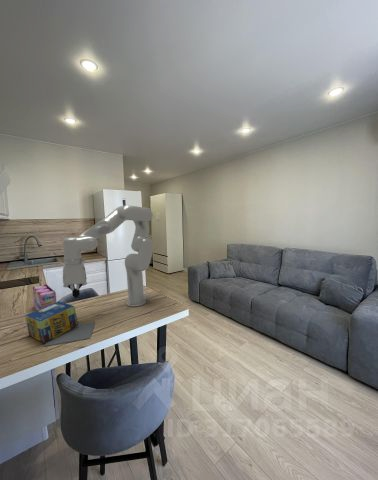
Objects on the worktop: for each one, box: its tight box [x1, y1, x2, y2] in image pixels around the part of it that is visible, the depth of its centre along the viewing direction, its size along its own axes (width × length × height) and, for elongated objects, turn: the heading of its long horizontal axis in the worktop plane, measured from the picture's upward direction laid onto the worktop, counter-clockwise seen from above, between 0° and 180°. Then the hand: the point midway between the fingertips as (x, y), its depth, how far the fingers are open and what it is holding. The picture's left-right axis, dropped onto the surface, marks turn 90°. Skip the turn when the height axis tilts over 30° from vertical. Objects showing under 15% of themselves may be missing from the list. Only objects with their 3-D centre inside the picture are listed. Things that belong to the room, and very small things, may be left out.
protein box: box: [24, 300, 79, 344], centre depth 101 cm, size 10×15×16 cm
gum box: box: [32, 283, 58, 311], centre depth 126 cm, size 24×8×14 cm, turn 45°
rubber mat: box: [43, 321, 96, 348], centre depth 100 cm, size 18×16×1 cm
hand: (76, 297), depth 108 cm, fingers closed
